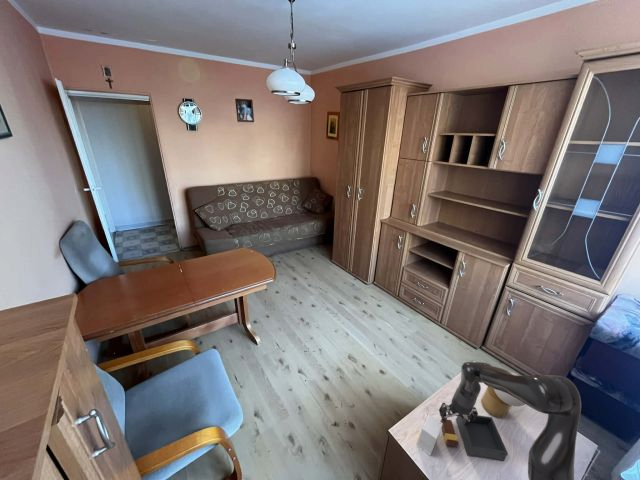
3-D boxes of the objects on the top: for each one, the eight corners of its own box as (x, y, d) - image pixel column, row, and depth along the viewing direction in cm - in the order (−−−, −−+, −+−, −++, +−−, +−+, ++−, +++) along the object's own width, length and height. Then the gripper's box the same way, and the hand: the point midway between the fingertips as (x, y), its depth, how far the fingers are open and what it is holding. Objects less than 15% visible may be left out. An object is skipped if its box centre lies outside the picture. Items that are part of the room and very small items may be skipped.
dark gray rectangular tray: (503, 461, 111) (508, 453, 108) (467, 455, 112) (471, 447, 110) (487, 424, 124) (491, 417, 121) (455, 420, 125) (459, 412, 123)
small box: (421, 430, 120) (428, 413, 115) (436, 440, 117) (443, 423, 111) (415, 445, 115) (421, 428, 109) (430, 457, 111) (437, 439, 105)
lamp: (522, 423, 125) (544, 389, 114) (498, 430, 122) (518, 396, 111) (495, 393, 138) (513, 360, 127) (473, 399, 135) (489, 365, 124)
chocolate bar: (457, 448, 114) (459, 444, 113) (446, 446, 115) (448, 442, 114) (449, 424, 123) (451, 420, 122) (439, 422, 124) (441, 418, 123)
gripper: (449, 405, 105) (439, 428, 112) (486, 411, 104) (473, 434, 111) (443, 387, 112) (434, 411, 119) (478, 392, 111) (467, 415, 118)
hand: (453, 422), depth 115 cm, fingers open, 8 cm apart
